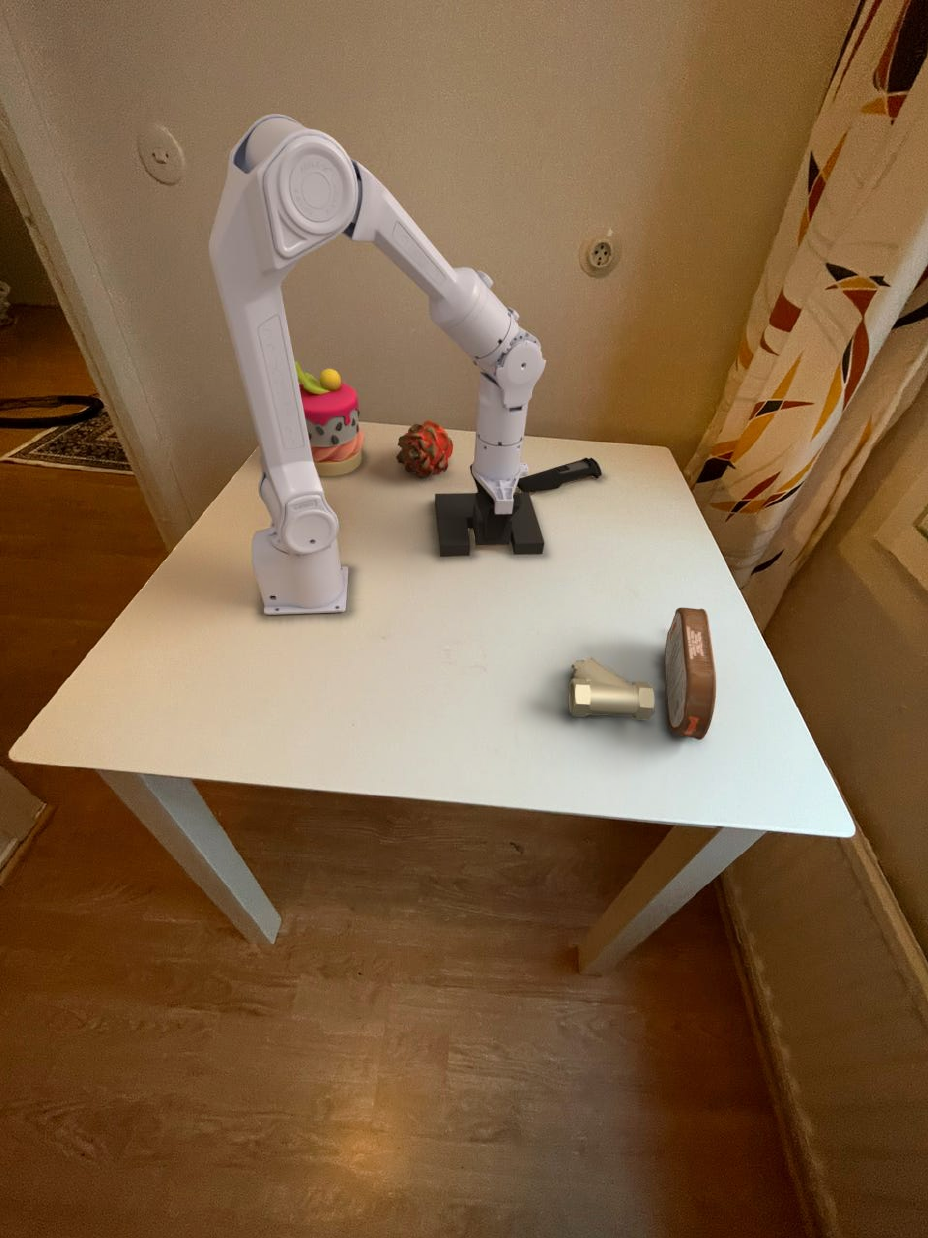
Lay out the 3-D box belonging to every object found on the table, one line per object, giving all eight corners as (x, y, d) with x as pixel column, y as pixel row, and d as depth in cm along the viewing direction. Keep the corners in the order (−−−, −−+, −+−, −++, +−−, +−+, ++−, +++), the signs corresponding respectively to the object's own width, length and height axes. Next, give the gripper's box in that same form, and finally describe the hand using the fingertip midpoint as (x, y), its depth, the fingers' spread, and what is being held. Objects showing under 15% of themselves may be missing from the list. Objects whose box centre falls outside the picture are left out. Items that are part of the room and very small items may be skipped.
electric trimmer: (508, 490, 87) (510, 472, 85) (588, 467, 92) (592, 450, 90) (521, 503, 85) (523, 485, 83) (602, 479, 90) (606, 461, 88)
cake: (351, 438, 95) (342, 347, 85) (373, 469, 89) (365, 374, 78) (290, 450, 92) (272, 356, 81) (308, 483, 85) (291, 386, 75)
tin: (695, 756, 56) (727, 707, 50) (663, 749, 56) (691, 700, 50) (684, 645, 66) (710, 593, 60) (657, 640, 66) (680, 588, 60)
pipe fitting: (563, 673, 63) (570, 721, 58) (569, 648, 60) (576, 697, 55) (634, 677, 63) (647, 726, 58) (643, 652, 60) (657, 701, 55)
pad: (475, 545, 75) (477, 521, 72) (472, 525, 78) (473, 501, 75) (509, 545, 76) (512, 521, 73) (504, 524, 79) (507, 500, 76)
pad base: (440, 556, 75) (440, 545, 73) (434, 504, 83) (435, 493, 82) (542, 554, 76) (544, 542, 75) (527, 503, 85) (529, 492, 83)
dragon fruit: (416, 501, 86) (423, 470, 96) (462, 472, 83) (465, 443, 93) (382, 456, 82) (393, 428, 91) (429, 424, 79) (435, 399, 88)
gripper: (545, 466, 61) (529, 560, 71) (522, 405, 71) (511, 495, 81) (481, 466, 61) (474, 562, 71) (468, 405, 71) (463, 496, 81)
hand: (490, 526), depth 76 cm, fingers closed on pad, 4 cm apart
